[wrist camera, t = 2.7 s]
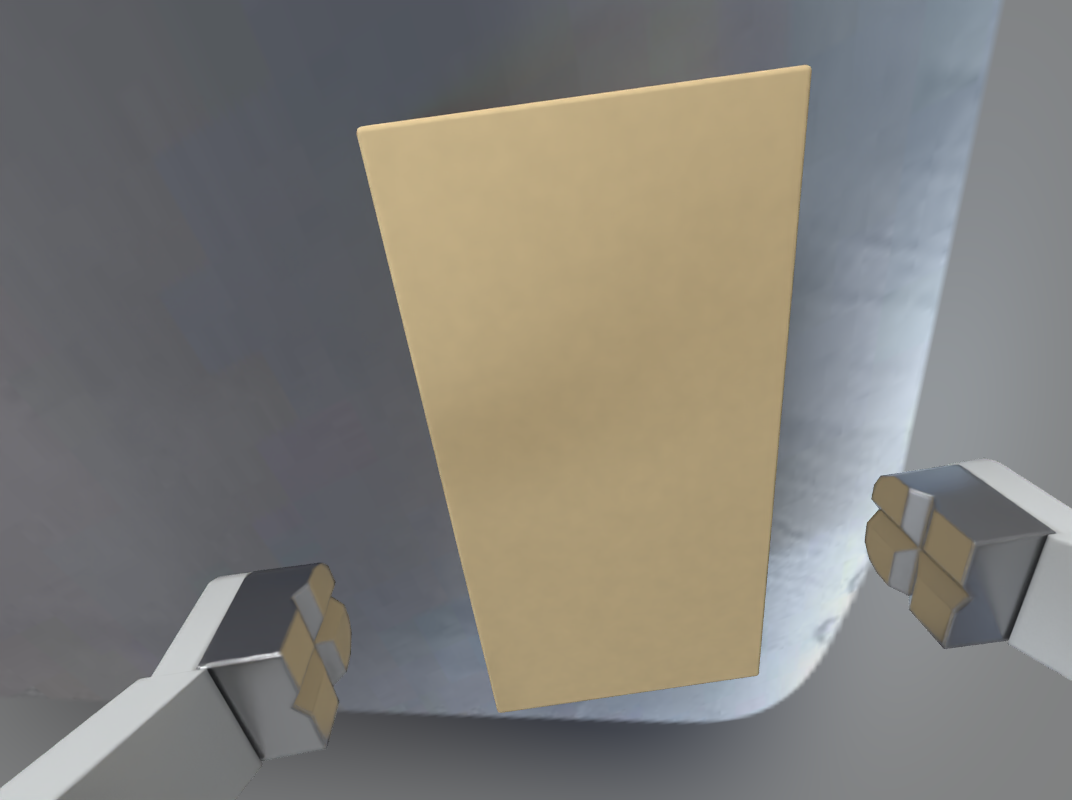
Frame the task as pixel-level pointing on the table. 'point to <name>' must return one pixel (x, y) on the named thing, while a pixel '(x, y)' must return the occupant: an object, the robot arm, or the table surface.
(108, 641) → the table surface
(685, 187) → the beige pad
